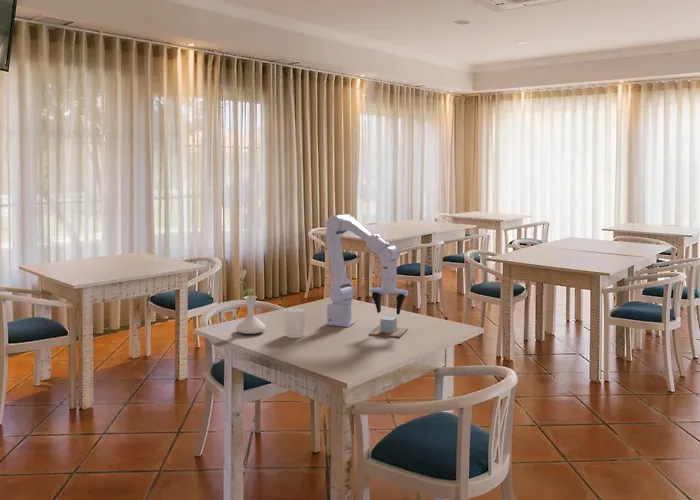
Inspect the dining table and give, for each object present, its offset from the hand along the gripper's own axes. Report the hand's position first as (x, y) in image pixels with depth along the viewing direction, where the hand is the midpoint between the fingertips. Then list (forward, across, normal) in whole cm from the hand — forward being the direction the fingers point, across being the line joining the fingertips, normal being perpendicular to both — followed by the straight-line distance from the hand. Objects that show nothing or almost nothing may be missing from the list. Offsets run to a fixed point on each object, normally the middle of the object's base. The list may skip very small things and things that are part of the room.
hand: (388, 313), depth 241 cm
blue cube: (+7, 0, 0) cm, 7 cm away
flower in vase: (+8, -50, -18) cm, 54 cm away
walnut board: (+8, 0, 0) cm, 8 cm away
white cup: (+8, -32, -16) cm, 37 cm away
